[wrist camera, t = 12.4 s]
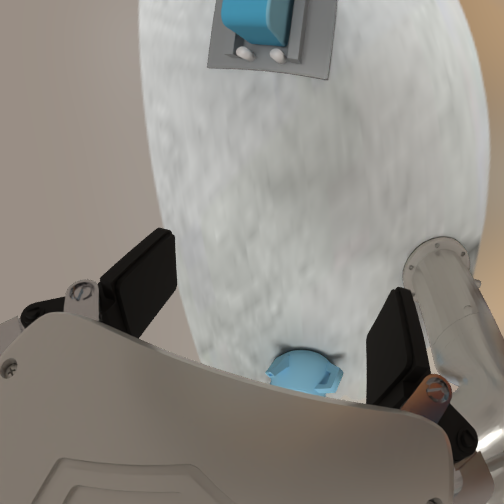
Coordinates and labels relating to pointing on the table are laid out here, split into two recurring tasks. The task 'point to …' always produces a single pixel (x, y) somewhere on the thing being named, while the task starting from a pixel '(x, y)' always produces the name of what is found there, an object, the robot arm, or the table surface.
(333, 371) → the teapot
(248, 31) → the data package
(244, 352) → the table surface
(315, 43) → the tray
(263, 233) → the table surface
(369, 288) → the table surface
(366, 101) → the table surface
